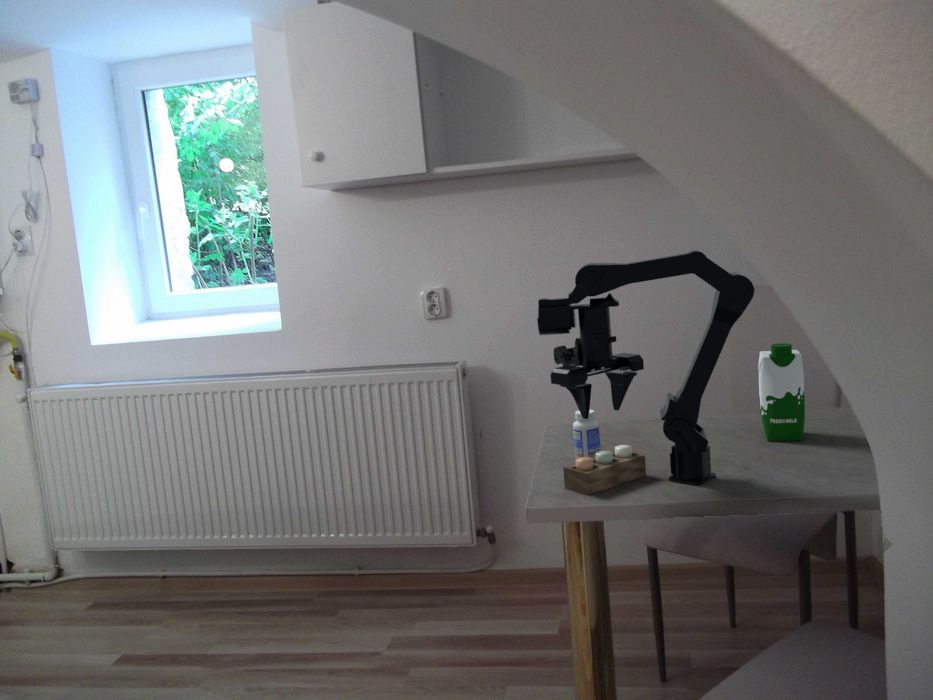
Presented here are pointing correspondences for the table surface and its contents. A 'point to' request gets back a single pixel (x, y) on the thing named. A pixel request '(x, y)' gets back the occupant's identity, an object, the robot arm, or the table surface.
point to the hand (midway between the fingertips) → (601, 414)
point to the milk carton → (782, 393)
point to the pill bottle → (586, 435)
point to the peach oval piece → (584, 464)
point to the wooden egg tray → (604, 474)
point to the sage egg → (604, 457)
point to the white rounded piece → (623, 451)
